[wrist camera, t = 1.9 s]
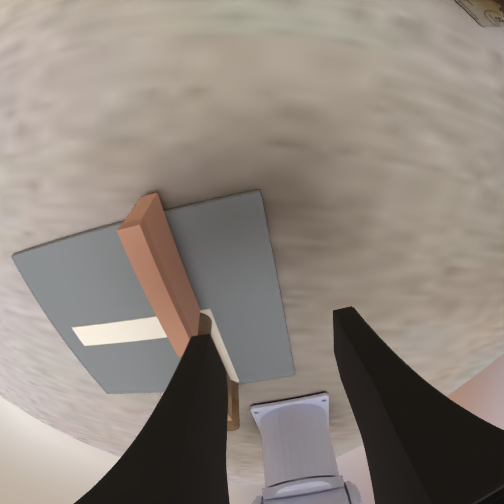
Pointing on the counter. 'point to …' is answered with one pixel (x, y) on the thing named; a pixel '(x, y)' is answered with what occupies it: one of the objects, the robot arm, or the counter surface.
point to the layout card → (140, 311)
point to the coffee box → (485, 11)
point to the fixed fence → (233, 398)
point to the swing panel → (160, 270)
